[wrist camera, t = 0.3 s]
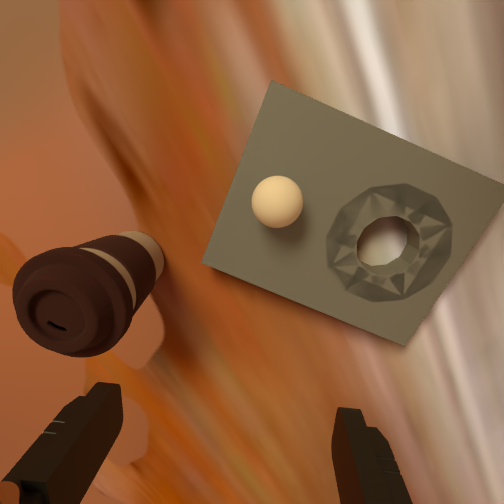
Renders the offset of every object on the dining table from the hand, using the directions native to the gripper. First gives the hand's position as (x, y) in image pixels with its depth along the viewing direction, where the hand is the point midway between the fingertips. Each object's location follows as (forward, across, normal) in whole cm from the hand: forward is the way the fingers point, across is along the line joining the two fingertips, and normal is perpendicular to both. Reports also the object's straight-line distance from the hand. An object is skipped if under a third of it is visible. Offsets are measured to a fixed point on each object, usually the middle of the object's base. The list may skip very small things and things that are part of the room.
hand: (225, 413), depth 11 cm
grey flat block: (+26, -9, -2) cm, 28 cm away
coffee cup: (+26, +15, +4) cm, 31 cm away
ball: (+21, -2, -5) cm, 22 cm away
